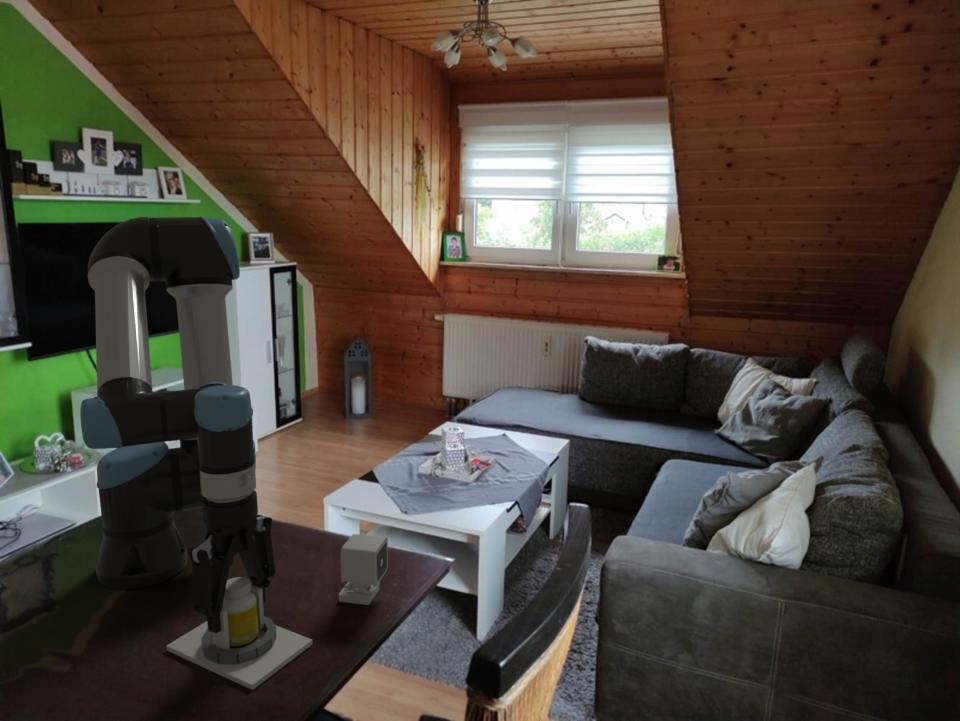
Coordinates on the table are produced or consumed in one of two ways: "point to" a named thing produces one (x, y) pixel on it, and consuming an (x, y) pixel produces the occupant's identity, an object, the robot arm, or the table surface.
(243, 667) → the socket board
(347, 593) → the security camera
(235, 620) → the supplement bottle
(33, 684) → the table surface
